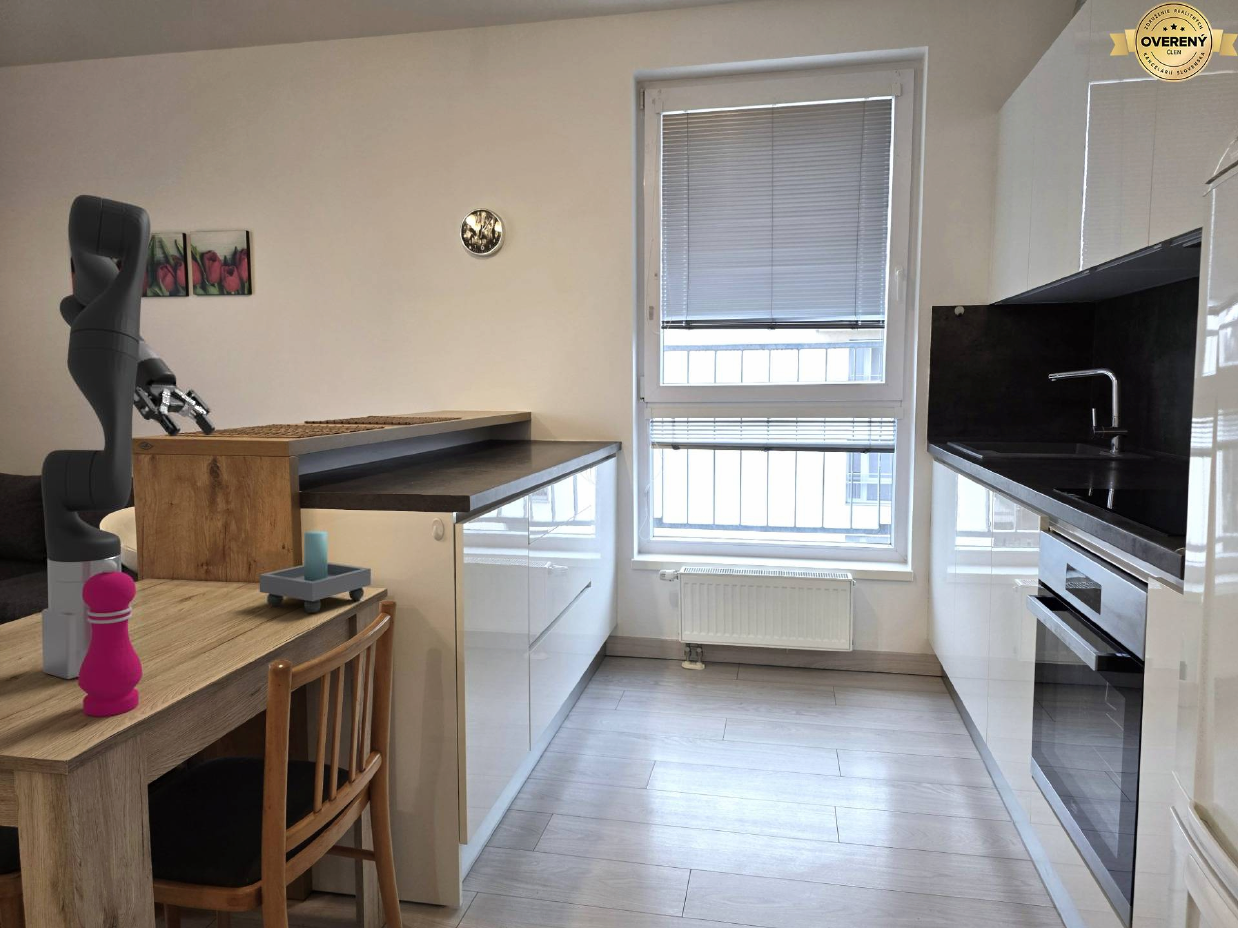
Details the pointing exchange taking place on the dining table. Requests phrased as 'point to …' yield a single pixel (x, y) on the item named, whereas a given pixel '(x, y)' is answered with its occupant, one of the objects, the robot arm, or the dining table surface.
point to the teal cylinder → (315, 555)
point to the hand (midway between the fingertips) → (194, 432)
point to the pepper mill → (109, 645)
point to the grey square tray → (314, 584)
